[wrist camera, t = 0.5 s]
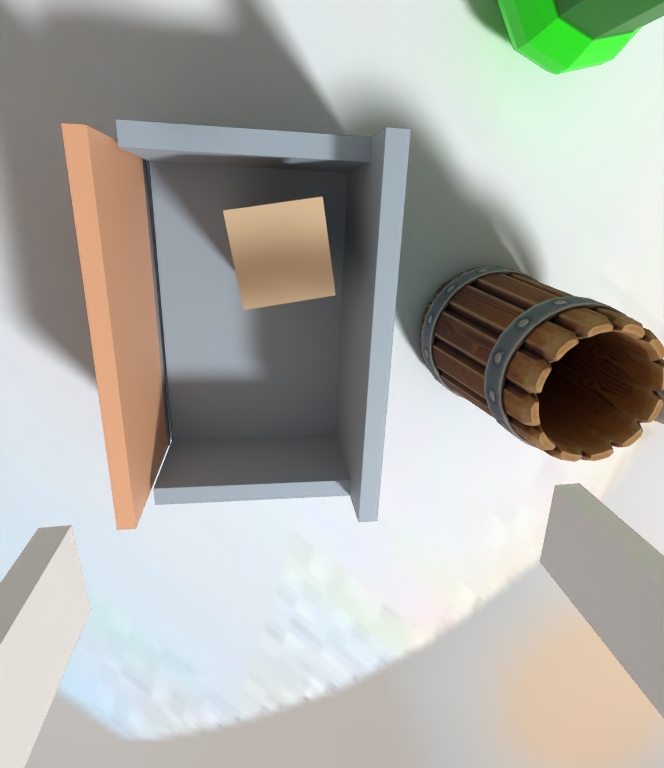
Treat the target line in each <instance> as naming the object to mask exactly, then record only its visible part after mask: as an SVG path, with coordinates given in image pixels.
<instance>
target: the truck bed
mask: <svg viewBox="0 0 664 768" xmlns="http://www.w3.org/2000/svg"><path fill="white" fill-rule="evenodd" d="M116 129H117V138H118V147H120V148H122V149H124V150H126V151H128V152H130V153H132V154H135V155H137V156H139V157H141V158H143V159H145V160H147V161H149V164H150V176H151V187H152V199H153V211H154V223H155V235H156V247H157V259H158V271H159V283H160V295H161V307H162V319H163V331H164V343H165V355H166V367H167V379H168V391H169V403H170V415H171V427H172V439H173V440H172V442H171V445H170V447H169V450H168V453H167V455H166V458H165V460H164V463H163V466H162V468H161V471H160V473H159V476H158V479H157V481H156V484H155V486H154V498H155V505H161V504H182V503H202V502H223V501H244V500H265V499H285V498H306V497H327V496H348V495H350V497H351V500H352V503H353V506H354V509H355V513H356V516H357V519H358V522H371V521H377V518H378V506H379V495H380V483H381V472H382V460H383V448H384V437H385V425H386V413H387V402H388V390H389V378H390V367H391V355H392V344H393V332H394V320H395V309H396V297H397V285H398V274H399V262H400V251H401V239H402V227H403V216H404V204H405V192H406V181H407V169H408V157H409V146H410V134H411V129H403V128H389V127H386V128H385V129H383V130H382V131H380V132H379V133H377V134H376V135H374V136H373V137H363V136H349V135H334V134H320V133H305V132H291V131H276V130H262V129H247V128H233V127H218V126H204V125H189V124H175V123H160V122H146V121H131V120H117V119H116ZM315 197H323V203H324V210H325V218H326V225H327V233H328V241H329V248H330V256H331V264H332V271H333V279H334V287H335V294H336V295H335V296H328V297H322V298H316V299H310V300H304V301H297V302H291V303H285V304H279V305H273V306H266V307H260V308H254V309H248V310H243V306H242V301H241V296H240V291H239V287H238V282H237V277H236V272H235V267H234V262H233V257H232V252H231V247H230V243H229V238H228V233H227V228H226V223H225V218H224V213H223V211H224V210H231V209H238V208H245V207H252V206H259V205H266V204H273V203H280V202H287V201H294V200H301V199H308V198H315Z"/></svg>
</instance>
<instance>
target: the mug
mask: <svg viewBox="0 0 664 768" xmlns="http://www.w3.org/2000/svg"><path fill="white" fill-rule="evenodd" d="M420 327H421V328H422V333H421V334H420V336H419V340H420V349H421V353H422V357H423V358H424V359H425V363H426V366H427V367H428V369H429V370H430V372H431V373H432V375H433V376H434V378H435V379H436V380H437V381H438V382H440V383H441V384H442V385H443V386H444V387H446V388H447V389H448V390H450V391H451V392H453V393H454V394H456V395H458V396H460V397H463V398H465V399H467V400H469V401H470V402H472V403H473V404H474V405H476V406H477V407H479V408H480V409H482V410H483V411H485V412H486V413H488V414H489V415H491V416H492V417H494V418H495V419H496V421H497V422H498V423H499V424H500V425H502V426H503V427H504V428H505V429H506V430H508V431H509V432H510V433H511V434H513V435H514V436H516V437H517V438H519V439H520V440H521V441H523V442H524V443H526V444H528V445H531V446H533V447H536V448H538V449H541V450H543V451H545V452H546V453H548V454H549V455H551V456H553V457H556V458H558V459H560V460H567V461H574V462H575V461H578V460H580V459H582V460H592V461H596V460H601V459H604V458H607V457H609V456H610V455H611V454H612V453H613V448H612V446H615V447H627V446H630V445H631V444H633V443H634V442H635V441H636V440H637V439H639V438H640V437H641V435H642V432H643V430H642V427H641V425H640V423H643V422H651V421H653V420H655V421H657V422H660V423H662V424H664V360H663V359H662V358H663V357H664V347H663V345H662V344H661V342H660V341H659V340H658V338H657V337H656V336H655V335H654V334H653V333H652V332H651V331H650V330H648V329H645V328H643V326H642V324H641V323H639V322H637V321H635V320H634V319H632V318H630V317H627V316H626V315H625V314H623V313H622V312H620V311H618V310H616V309H614V308H612V307H610V306H608V305H605V304H603V303H600V302H597V301H595V300H592V299H589V298H583V297H576V296H573V295H570V294H568V293H565V292H563V291H560V290H557V289H555V288H552V287H550V286H547V285H545V284H542V283H539V282H538V281H537V280H535V279H533V278H531V277H529V276H527V275H525V274H523V273H521V272H518V271H516V270H513V269H509V268H503V267H498V266H492V267H480V268H474V269H471V270H468V271H465V272H462V273H461V275H460V276H459V277H458V278H456V279H454V278H452V279H451V280H449V281H448V282H447V283H446V284H444V285H443V286H442V287H441V288H440V289H439V290H438V291H437V293H436V294H435V295H434V301H433V302H431V303H429V304H428V306H427V308H426V310H425V312H424V315H423V318H422V322H421V326H420Z"/></svg>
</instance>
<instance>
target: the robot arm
mask: <svg viewBox="0 0 664 768" xmlns="http://www.w3.org/2000/svg"><path fill="white" fill-rule="evenodd" d="M540 563H541V564H542V565H543V566H544V568H545V569H546V570H547V572H548V573H549V574H550V575H551V577H552V578H553V579H554V580H555V582H556V583H557V584H558V585H559V587H560V588H561V589H562V590H563V592H564V593H565V594H566V595H567V597H568V598H569V599H570V600H571V602H572V603H573V604H574V606H575V607H576V608H577V609H578V611H579V612H580V613H581V614H582V616H583V617H584V618H585V620H586V621H587V622H588V623H589V624H590V626H591V627H592V628H593V630H594V631H595V632H596V633H597V635H598V636H599V637H600V638H601V640H602V641H603V642H604V643H605V645H606V646H607V647H608V648H609V650H610V651H611V652H612V654H613V655H614V656H615V657H616V659H617V660H618V661H619V662H620V664H621V665H622V666H623V667H624V669H625V670H626V671H627V673H628V674H629V675H630V676H631V678H632V679H633V680H634V681H635V683H636V684H637V685H638V686H639V688H640V689H641V690H642V691H643V693H644V694H645V695H646V697H647V698H648V699H649V700H650V702H651V703H652V704H653V705H654V707H655V708H656V709H657V710H658V712H659V713H660V714H661V715H662V717H663V718H664V556H663V555H662V554H661V553H660V552H659V551H657V550H656V549H655V548H654V547H653V546H652V545H650V544H649V543H648V542H647V541H646V540H645V539H643V538H642V537H641V536H640V535H639V534H638V533H637V532H635V531H634V530H633V529H632V528H631V527H629V526H628V525H627V524H626V523H625V522H624V521H622V520H621V519H620V518H619V517H618V516H617V515H616V514H614V513H613V512H612V511H611V510H610V509H609V508H607V507H606V506H605V505H604V504H603V503H602V502H601V501H599V500H598V499H597V498H596V497H595V496H594V495H592V494H591V493H590V492H589V491H588V490H587V489H585V488H584V487H583V486H582V485H581V484H580V483H577V484H565V485H555V488H554V493H553V498H552V503H551V508H550V514H549V519H548V524H547V529H546V534H545V539H544V544H543V549H542V554H541V559H540ZM90 611H91V607H90V603H89V599H88V594H87V590H86V586H85V582H84V577H83V573H82V569H81V564H80V560H79V556H78V552H77V547H76V543H75V539H74V534H73V530H72V526H59V527H46V528H38V530H37V531H36V533H35V534H34V536H33V537H32V538H31V540H30V541H29V543H28V544H27V546H26V547H25V549H24V550H23V551H22V553H21V554H20V556H19V557H18V559H17V560H16V562H15V563H14V564H13V566H12V567H11V569H10V570H9V572H8V573H7V575H6V576H5V577H4V579H3V580H2V582H1V583H0V768H24V767H25V765H26V762H27V760H28V758H29V755H30V753H31V751H32V748H33V746H34V743H35V741H36V739H37V736H38V734H39V732H40V729H41V727H42V724H43V722H44V720H45V717H46V715H47V713H48V710H49V708H50V706H51V703H52V701H53V699H54V696H55V694H56V691H57V689H58V687H59V684H60V682H61V680H62V677H63V675H64V672H65V670H66V668H67V665H68V663H69V661H70V658H71V656H72V653H73V651H74V649H75V646H76V644H77V642H78V639H79V637H80V635H81V632H82V630H83V627H84V625H85V623H86V620H87V618H88V616H89V613H90Z"/></svg>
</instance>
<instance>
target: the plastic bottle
mask: <svg viewBox="0 0 664 768" xmlns="http://www.w3.org/2000/svg"><path fill="white" fill-rule="evenodd" d="M498 5H499V8H500V11H501V14H502V17H503V20H504V23H505V25H506V28H507V31H508V34H509V37H510V40H511V43H512V46H513V49H514V50H515V51H517V52H519V53H520V54H522V55H523V56H525V57H526V58H528V59H529V60H531V61H532V62H534V63H535V64H537V65H538V66H540V67H541V68H543V69H545V70H546V71H548V72H551V73H554V74H559V73H564V72H568V71H573V70H577V69H582V68H587V67H591V66H596V65H600V64H603V63H605V62H607V61H610V60H612V59H614V57H615V56H616V55H617V54H618V53H619V52H620V51H621V50H622V48H623V47H624V46H625V45H626V44H627V43H628V42H629V41H630V40H631V38H632V37H633V36H634V35H635V34H636V33H637V32H638V31H639V30H640V28H641V27H642V26H644V25H646V24H648V23H650V22H652V21H654V20H656V19H658V18H660V17H662V16H664V0H498Z"/></svg>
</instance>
